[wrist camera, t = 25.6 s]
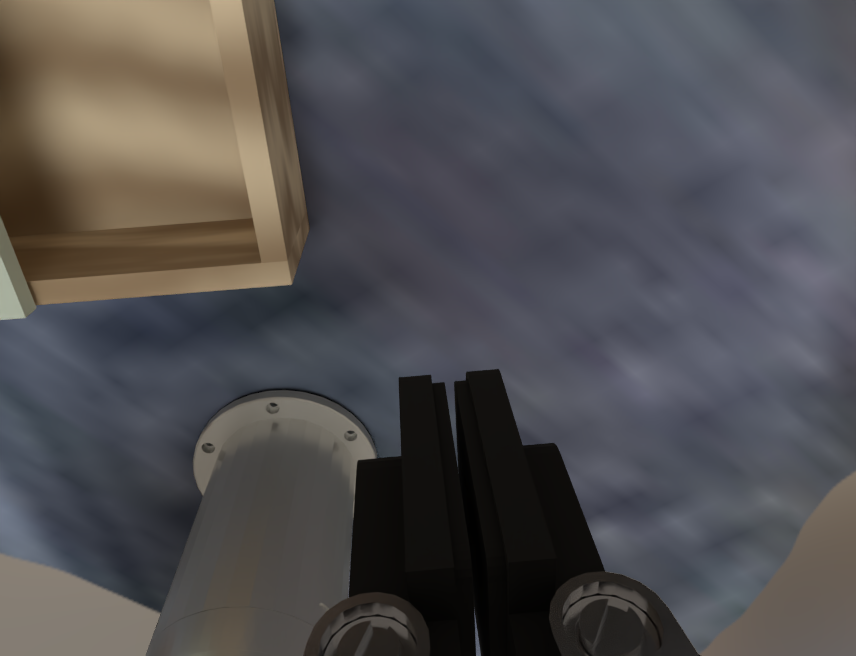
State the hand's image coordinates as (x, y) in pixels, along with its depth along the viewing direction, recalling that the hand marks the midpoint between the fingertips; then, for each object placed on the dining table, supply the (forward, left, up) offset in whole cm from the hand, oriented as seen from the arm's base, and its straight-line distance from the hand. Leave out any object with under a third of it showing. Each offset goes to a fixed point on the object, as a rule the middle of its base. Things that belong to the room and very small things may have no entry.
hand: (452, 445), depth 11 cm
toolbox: (+4, +15, -27) cm, 31 cm away
